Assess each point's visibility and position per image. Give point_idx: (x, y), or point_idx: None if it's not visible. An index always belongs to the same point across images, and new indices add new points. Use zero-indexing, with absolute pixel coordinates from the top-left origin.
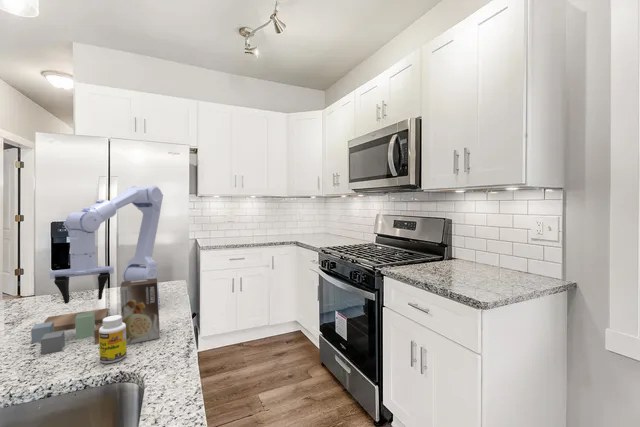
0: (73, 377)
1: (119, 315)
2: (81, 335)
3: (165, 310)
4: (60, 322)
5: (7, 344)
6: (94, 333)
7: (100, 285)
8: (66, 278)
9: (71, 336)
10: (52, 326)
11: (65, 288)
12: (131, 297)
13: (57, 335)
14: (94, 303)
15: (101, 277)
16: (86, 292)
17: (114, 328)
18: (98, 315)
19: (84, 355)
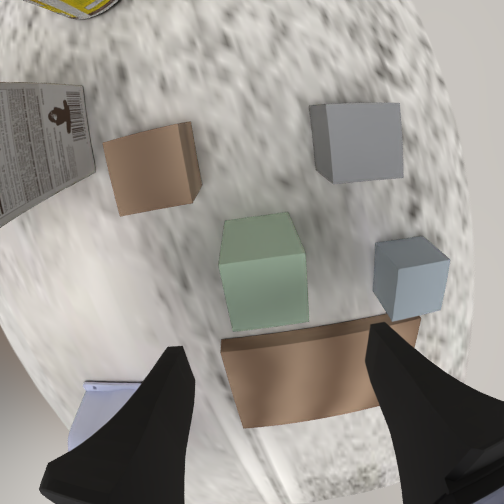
0: None
1: None
2: (268, 219)
3: (64, 370)
4: None
5: (470, 255)
6: (180, 123)
7: (129, 428)
8: (444, 493)
9: (312, 251)
10: (389, 294)
11: (429, 399)
12: None
13: (344, 121)
14: (299, 464)
15: (74, 487)
16: (326, 496)
17: None
18: (255, 385)
19: (201, 26)
